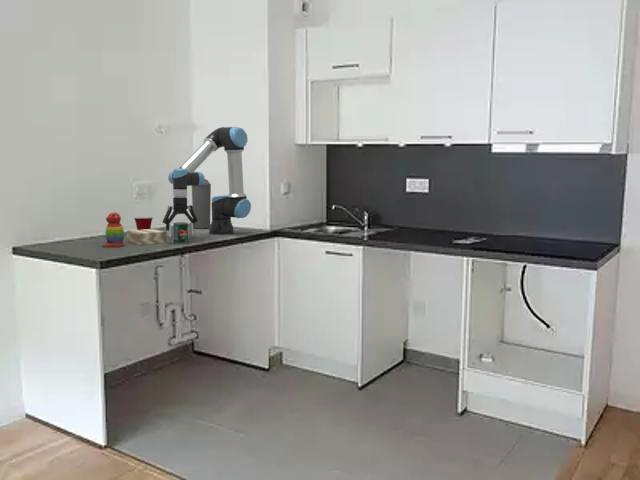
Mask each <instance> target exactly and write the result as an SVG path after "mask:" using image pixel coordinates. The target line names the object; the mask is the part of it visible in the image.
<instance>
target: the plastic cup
mask: <svg viewBox="0 0 640 480" xmlns="http://www.w3.org/2000/svg"><path fill="white" fill-rule="evenodd" d="M133 219H134V221H135V224H136V225H135V226H136V230H143V229H152V222H153V219H154V217H153V216H152V217H151V216H144V217H143V216H139V217H133Z"/></svg>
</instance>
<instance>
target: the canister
mask: <svg viewBox="0 0 640 480" xmlns="http://www.w3.org/2000/svg"><path fill="white" fill-rule="evenodd" d="M204 180H205V181H204V183H203V184H202V185H198V186H191V203H192V204H191V205H192V207H193V211H194V213H195V215H196V217H197V220H198V221H197V222H196V223H195V228H194V229H196V228H197V230H198V229H199V230H202V229H204V228H206V229H210V225H211V206H212V204H211V203H212V197H211V195H212V194H211V193H212V192H211V191H212V190H211V189H212V187H211V186H212V184H211V183H210V181H209V180H208V179H206V178H204Z"/></svg>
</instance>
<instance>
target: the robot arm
mask: <svg viewBox="0 0 640 480" xmlns="http://www.w3.org/2000/svg"><path fill="white" fill-rule="evenodd" d="M248 140H249V137H248V134H247V132H246V130H244V128H242V127H238V126H229V127H228V126H227V127H226V126H223V127H222V126H221V127H218V128H215V130H213V131H211V132H210V133H209V134H208V135H207V136H206V137H205V138H204V139H203V142H202V144H201V145H200V146H199V147H198V148H197V149H196V150H194V152H193V153H192V154H191V155H190V156H189V157H188V158H187V159H186V160H185V161H184V162H183V163H182V164H181V165H180V167H178V168H174V169H173V170H172V171H170V172H169V173H168V176H167V178H168V181H169V184H172V196H173V199H172V201H173V202H172V203H173V205H172V206H171V205H168V206H167V211H166V212H165V215H164V217H163V220H162V224H164V225H165V230H166V232H167V237H172V224H171V223H172V221H173V220H174V219H175V217H176V216H177V215H181V214H182V215H185V217H186V218H187V219H188V220H189V221H190V222H189V235H191V236H194V229H196V228H195V223H196V222H197V221H198V220H197V217H196V215H195V213H194V211H193V207H192V204H191V205H190V204H189V205H188V187H192V186H198V185H202V184H203V183H204V181H205V180H204V179H206V178H205V175H204V173H202V172H201V171H196V170H197V169H198V168H199V167H200V166H201V165H202V164H203V163H204V162H205V161H206V160H207V158H208V157H209V156H210V155H211V154H212V153H213V152H216V151H217V150H219V149H220V148H224V149H223V151H224V152H226V154H227V155H226V157H227V160H226V161H227V173H228V190H229V191H228V192H229V193H228V194H227V195H218V196H216V195H215V196H213V197H211V221H210V228H208V231H209V232H208V233H209V234H211V235H230V234H234V232H235V229H234V227H233V223H232V218H236V219H245V218H247V217H248V216H249V214H250V212H251V210H252V204H251V201H250V200H249V199H248V198H247V194H246V193H245V191H244V173H243V172H244V171H243V170H244V169H243V154H242V153H243V152H244V150H245V146H246V145H247V144H248V142H249V141H248ZM172 210H173V211H172ZM189 213H190V214H189Z"/></svg>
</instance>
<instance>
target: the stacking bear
mask: <svg viewBox="0 0 640 480" xmlns="http://www.w3.org/2000/svg"><path fill="white" fill-rule="evenodd" d="M121 219H122V216H121V214H120V213H117V212H111V213H108V215H107V217H105V221H106V222H107V224H106V228H105V238H106V242H104V243H103V244H102V248H121V247H124V246H125V243H124V238H125V230H124V227H123V225H122V223H121Z"/></svg>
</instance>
